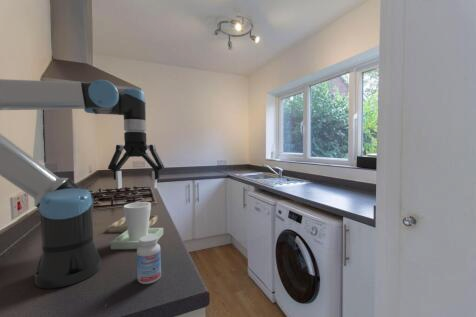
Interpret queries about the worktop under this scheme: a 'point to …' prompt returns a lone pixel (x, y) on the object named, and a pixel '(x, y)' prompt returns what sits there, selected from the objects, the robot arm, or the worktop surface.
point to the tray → (125, 243)
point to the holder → (117, 228)
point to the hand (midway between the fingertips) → (137, 188)
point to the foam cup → (137, 219)
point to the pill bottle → (148, 259)
